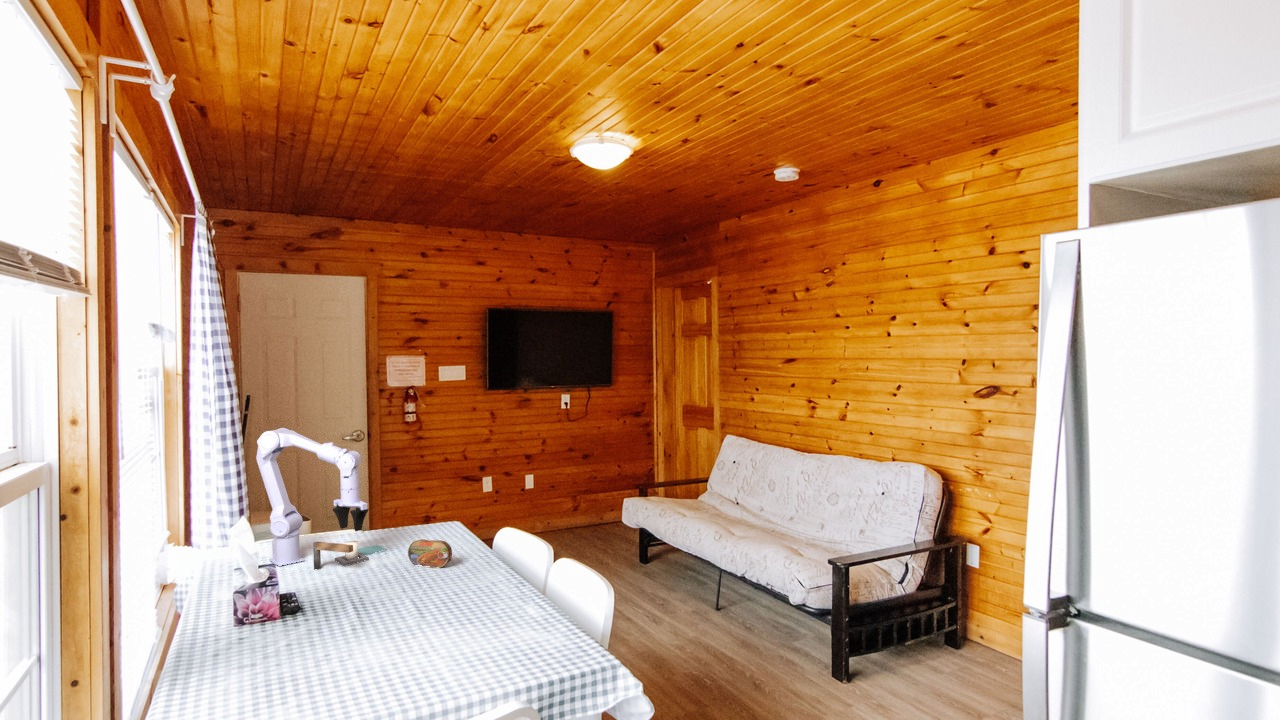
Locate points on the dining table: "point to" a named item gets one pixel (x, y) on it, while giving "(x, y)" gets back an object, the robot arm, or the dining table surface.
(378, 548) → the teal mat
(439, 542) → the tin
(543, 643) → the dining table surface
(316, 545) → the retention bar
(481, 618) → the dining table surface
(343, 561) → the socket plate
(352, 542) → the plug
